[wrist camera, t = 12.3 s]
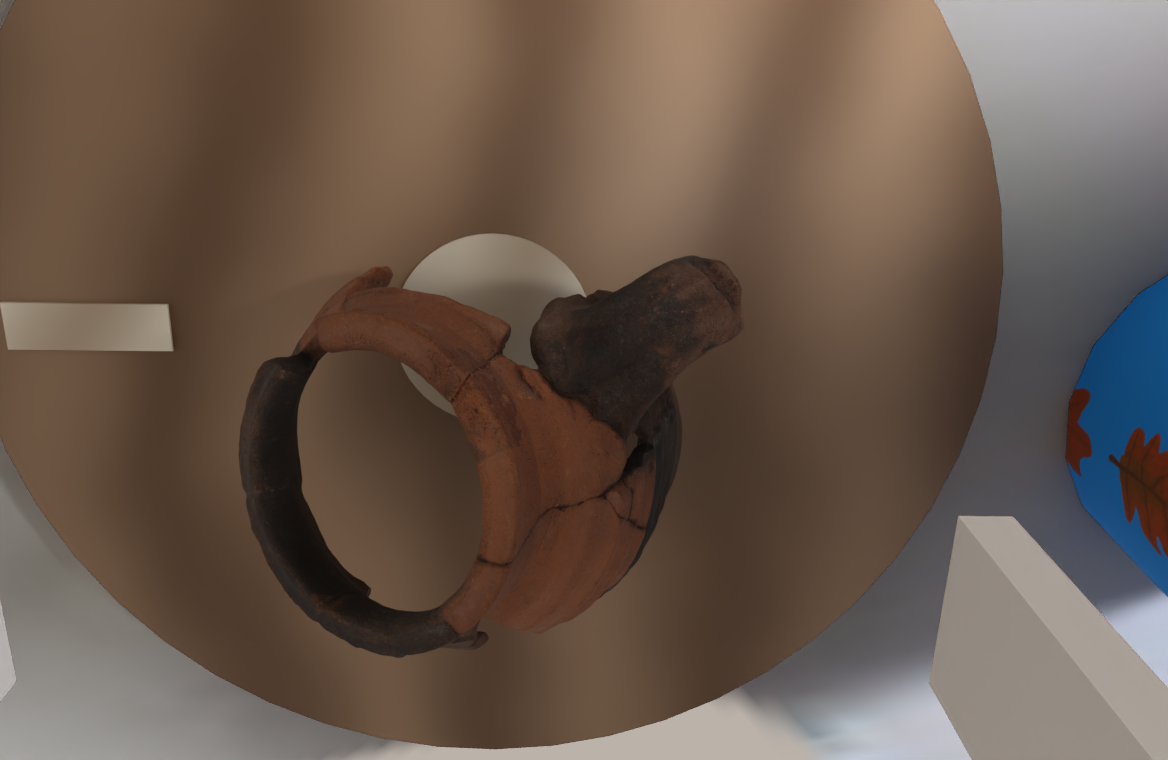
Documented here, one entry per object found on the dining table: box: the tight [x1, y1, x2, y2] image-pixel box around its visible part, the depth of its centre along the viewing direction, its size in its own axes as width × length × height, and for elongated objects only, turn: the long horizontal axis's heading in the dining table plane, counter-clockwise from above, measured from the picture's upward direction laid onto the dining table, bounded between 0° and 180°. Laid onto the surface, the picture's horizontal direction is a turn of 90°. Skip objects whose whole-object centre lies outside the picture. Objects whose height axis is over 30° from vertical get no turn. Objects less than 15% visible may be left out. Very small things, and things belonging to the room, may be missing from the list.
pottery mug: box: [238, 255, 745, 658], centre depth 23 cm, size 12×10×8 cm
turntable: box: [0, 0, 1003, 749], centre depth 26 cm, size 26×26×1 cm
